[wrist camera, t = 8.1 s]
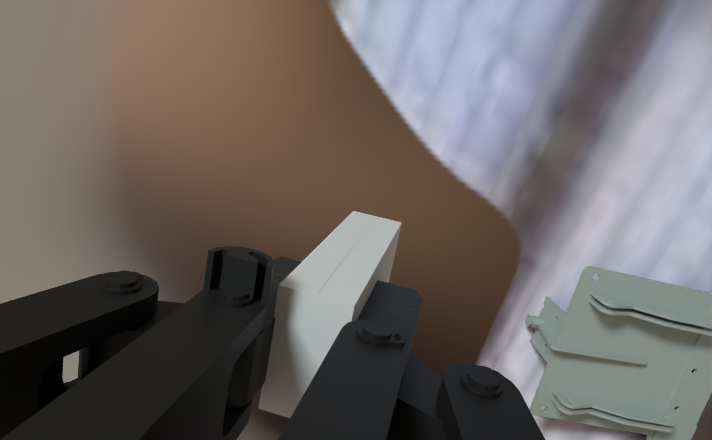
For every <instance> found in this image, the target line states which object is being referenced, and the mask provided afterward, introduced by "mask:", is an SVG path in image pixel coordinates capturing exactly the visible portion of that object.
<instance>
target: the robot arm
mask: <svg viewBox="0 0 712 440" xmlns="http://www.w3.org/2000/svg"><path fill="white" fill-rule="evenodd" d="M400 228H401V222H397V221H392V220H389V219H385V218H380V217H376V216H372V215H368V214H363V213H360V212H355V211H353V212H352V213H351V214H350V215H349V216H348V217H347V218H346V219H345V220H344V221H343V222H342V223H341V224H340V225H339V226H338V227H337V228H336V229H335V230H334V231H333V232H332V233H331V234H330V235H329V236H328V237H327V238H326V239H325V240H324V241H323V242H322V243H321V244H320V245H319V246H318V247H317V248H316V249H315V250H314V251H313V252H311V254H310V255H308V256H307V257H306V258H305V259H304V260H303V261H302V262H300V261H296V260H292V259H288V258H284V257H280V258H276V259H272V257H270V256H268V255H267V254H265V253H263V252H260V251H257V250H254V249H250V248H244V247H232V246H226V247H217V248H214V249H211V250H208V259H207V266H206V275H205V283H204V290H202V291H201V292H200V293H198V294H197V295H195V296H194V297H193V298H191V299H190V300H189V301H187V302H186V303H175V302H166V301H158V292H159V286H158V284H157V282H156V281H155V280H153V279H151V278H150V277H147V276H144V275H141V274H139V273H137V272H130V271H119V272H109V273H104V274H99V275H95V276H92V277H88V278H85V279H81V280H78V281H75V282H71V283H68V284H65V285H62V286H58V287H55V288H51V289H48V290H45V291H41V292H38V293H35V294H31V295H28V296H25V297H21V298H18V299H15V300H11V301H8V302H5V303H2V304H0V440H236V439H237V438H238V436H239V435H240V434H241V432H242V431H243V429H244V428H245V426H246V425H247V423H248V421H249V418H250V415H251V410H252V403H253V398H254V396H255V395H256V393H257V392H258V391H259V389H260V388H261V387H262V390H261V397H260V403H259V409H262V410H266V411H269V412H272V413H275V414H279V415H282V416H285V417H288V418H290V419H289V421H288V423H287V425H286V426H285V428H284V430H283V431H282V433H281V435H280V437H279V438H278V440H545V438H544V437H543V435H542V433H541V431H540V429H539V427H538V425H537V423H536V421H535V420H534V418H533V416H532V414H531V412H530V410H529V408H528V406H527V405H526V403H525V401H524V399H523V397H522V395H521V393H520V391H519V390H518V389H517V388H516V386H515V385H514V384H513V383H512V382H511V381H510V380H508V379H507V378H505V377H504V376H503V375H501V374H500V373H499V372H497V371H495V370H491V368H488V367H485V366H477V365H474V364H456V365H452V366H449V367H448V368H447V369H446V370H445V371H444V373H443V376H441V375H439V374H437V373H435V372H433V371H431V370H429V369H428V368H426V367H425V366H423V365H422V364H421V363H420V362H419V361H418V360H417V359H416V358H415V357H414V355H413V353H412V351H411V347H412V343H413V339H414V335H415V331H416V327H417V323H418V318H419V314H420V310H421V305H422V302H423V299H422V298H421V297H420V295H419V293H418V292H417V290H414V289H410V288H406V287H402V286H398V285H395V284H391V283H388V282H389V278H390V273H391V269H392V264H393V260H394V255H395V250H396V246H397V241H398V237H399V232H400ZM76 351H79V367H78V378H77V379H75V380H72V381H70V382H66V383H63V380H62V371H63V357H64V356H67V355H69V354H71V353H74V352H76Z"/></svg>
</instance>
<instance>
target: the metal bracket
mask: <svg viewBox="0 0 712 440" xmlns="http://www.w3.org/2000/svg"><path fill="white" fill-rule="evenodd" d="M595 273H598V274H599V276H598V278H597V279H596V280H593V279H592V276H593V274H595ZM525 324H526V325H527V327H529V326H531V327H532V328H534V330H535V333H534V334H532V336H531V339H530V342H531V343H532V344H533V346H534V347H535V348H536V349H537V351H538V352H539V353H540V355H541V356H542V357H543V358H544V360H545V361H546V362H547V365H546V368H545V370H544V373H543V375H542V378H541V381H540V383H539V386H538V388H537V391H536V394H535V396H534V399H533V401H532V404H531V407H530V412H531V414H533V415H536V416H542V417H548V418H553V419H559V420H565V421H571V422H576V423H582V424H588V425H594V426H599V427H605V428H611V429H617V430H622V431H628V432H634V433H640V434H645V435H647V438H646V440H691V438H692V436H693V434H694V432H695V430H696V428H697V425H696V424H697V422H698V420H699V418H700V416H701V414H702V412H703V410H704V408H705V406H706V404H707V402H708V399H709V397H710V395H711V393H712V292H704V291H700V290H695V289H691V288H686V287H682V286H677V285H673V284H668V283H664V282H659V281H655V280H650V279H646V278H641V277H637V276H632V275H628V274H623V273H619V272H614V271H610V270H605V269H601V268H596V267H592V266H587V267H585V268H584V270H583V272H582V274H581V277H580V279H579V282H578V285H577V287H576V290H575V292H574V295H573V298H572V300H571V303H570V305H569V308H568V311H567V313H565V312H564V311H563V310H562V309H560V308H559V307H558V306H557V305H556V304H555V303H554V302H553V301H552V300H551V299H550V298H549V297H547V296H546V298H545V301H544V308H542V309H541V312H540V315H539V317H537V316H532V317H531V316H530V315H528V316H527V317H526V320H525ZM546 347H547V348H546ZM693 369H695V370H694V372H692V370H693ZM543 406H547V408H546V410H544V411H540V409H541V407H543ZM677 406H678V407H677ZM675 407H677V409H675Z"/></svg>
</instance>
